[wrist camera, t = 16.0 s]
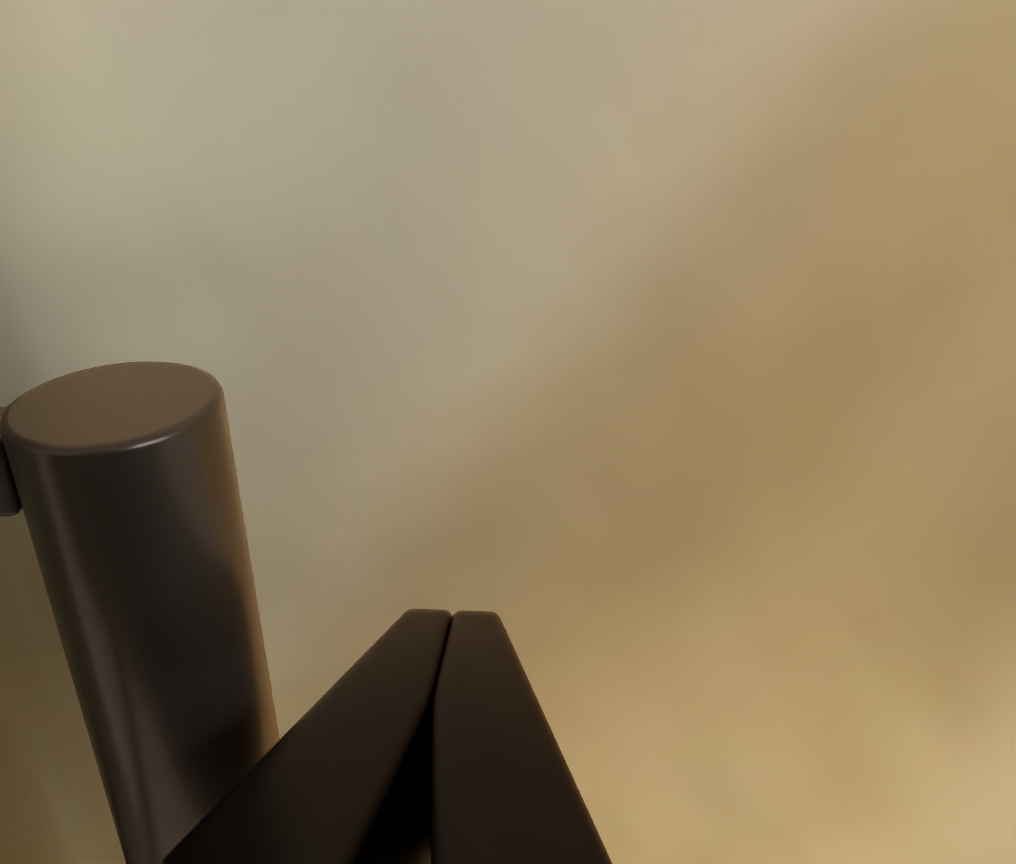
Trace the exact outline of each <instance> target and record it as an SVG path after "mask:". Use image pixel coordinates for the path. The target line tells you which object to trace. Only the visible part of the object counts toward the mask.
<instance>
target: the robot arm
mask: <svg viewBox="0 0 1016 864" xmlns="http://www.w3.org/2000/svg"><path fill="white" fill-rule="evenodd" d="M162 864H612V862H611V860H610V858H609V855H608V853H607V851H606V849H605V847H604V844H603V842H602V840H601V838H600V836H599V833H598V831H597V829H596V827H595V825H594V823H593V820H592V818H591V816H590V814H589V812H588V809H587V807H586V805H585V803H584V801H583V798H582V796H581V794H580V792H579V790H578V788H577V785H576V783H575V781H574V779H573V777H572V774H571V772H570V770H569V768H568V766H567V763H566V761H565V759H564V757H563V755H562V752H561V750H560V748H559V746H558V744H557V742H556V739H555V737H554V735H553V733H552V731H551V728H550V726H549V724H548V722H547V720H546V717H545V715H544V713H543V711H542V709H541V706H540V704H539V702H538V700H537V698H536V696H535V693H534V691H533V689H532V687H531V685H530V682H529V680H528V678H527V676H526V674H525V671H524V669H523V667H522V665H521V663H520V660H519V658H518V656H517V654H516V652H515V650H514V647H513V645H512V643H511V641H510V639H509V636H508V634H507V632H506V630H505V628H504V625H503V623H502V621H501V619H500V617H499V616H498V615H497V614H496V613H494V612H487V611H458V612H456V613H455V614H454V615H453V617H452V615H451V613H450V612H449V611H447V610H433V609H410V610H408V611H406V612H405V613H404V614H403V615H402V616H401V617H400V618H399V619H398V620H397V621H396V622H395V623H394V624H393V625H392V626H391V627H390V628H389V629H388V630H387V631H386V632H385V633H384V634H383V635H382V636H381V637H380V638H379V639H378V640H377V641H376V642H375V643H374V644H373V645H372V646H371V647H370V648H369V649H368V651H367V652H366V653H365V654H364V655H363V656H362V657H361V658H360V659H359V660H358V661H357V662H356V663H355V664H354V665H353V666H352V667H351V668H350V669H349V670H348V671H347V672H346V673H345V674H344V675H343V676H342V677H341V678H340V679H339V680H338V681H337V682H336V683H335V684H334V685H333V686H332V687H331V688H330V689H329V690H328V691H327V692H326V693H325V694H324V695H323V696H322V697H321V698H320V699H319V700H318V701H317V702H316V704H315V705H314V706H313V707H312V708H311V709H310V710H309V711H308V712H307V713H306V714H305V715H304V716H303V717H302V718H301V719H300V720H299V721H298V722H297V723H296V724H295V725H294V726H293V727H292V728H291V729H290V730H289V731H288V732H287V733H286V734H285V735H284V736H283V737H282V738H281V739H280V740H279V741H278V742H277V743H276V744H275V745H274V746H273V747H272V748H271V749H270V750H269V751H268V752H267V753H266V754H265V755H264V756H263V758H262V759H261V760H260V761H259V762H258V763H257V764H256V765H255V766H254V767H253V768H252V769H251V770H250V771H249V772H248V773H247V774H246V775H245V776H244V777H243V778H242V779H241V780H240V781H239V782H238V783H237V784H236V785H235V786H234V787H233V788H232V789H231V790H230V791H229V792H228V793H227V794H226V795H225V796H224V797H223V798H222V799H221V800H220V801H219V802H218V803H217V804H216V805H215V806H214V807H213V808H212V809H211V811H210V812H209V813H208V814H207V815H206V816H205V817H204V818H203V819H202V820H201V821H200V822H199V823H198V824H197V825H196V826H195V827H194V828H193V829H192V830H191V831H190V832H189V833H188V834H187V835H186V836H185V837H184V838H183V839H182V840H181V841H180V842H179V843H178V844H177V845H176V846H175V847H174V848H173V849H172V850H171V851H170V852H169V853H168V854H167V855H166V856H165V857H164V859H163V860H162Z"/></svg>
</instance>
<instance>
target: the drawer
mask: <svg viewBox="0 0 1016 864" xmlns="http://www.w3.org/2000/svg"><path fill="white" fill-rule="evenodd" d="M279 740H280V739H279V733H278V727H277V720H276V714H275V708H274V702H273V696H272V690H271V683H270V677H269V671H268V665H267V659H266V652H265V646H264V640H263V634H262V628H261V621H260V615H259V609H258V603H257V597H256V591H255V584H254V578H253V572H252V566H251V560H250V553H249V547H248V541H247V535H246V529H245V522H244V516H243V510H242V504H241V498H240V492H239V485H238V479H237V473H236V467H235V461H234V454H233V448H232V442H231V436H230V430H229V423H228V417H227V411H226V405H225V399H224V393H223V390H222V387H221V386H220V384H219V383H218V382H217V380H216V379H215V378H214V377H213V376H212V375H211V374H209V373H207V372H205V371H204V370H201V369H198V368H196V367H192V366H188V365H183V364H178V363H169V362H130V363H120V364H112V365H105V366H100V367H95V368H90V369H86V370H82V371H78V372H74V373H71V374H68V375H64V376H62V377H59V378H56V379H53V380H51V381H48V382H46V383H43V384H41V385H39V386H37V387H35V388H33V389H31V390H29V391H28V392H26V393H24V394H23V395H21V396H20V397H19V398H17V399H16V400H15V401H14V402H12V403H11V404H10V405H9V407H0V864H162V860H163V859H164V857H165V856H166V855H167V854H168V853H169V852H170V851H171V850H172V849H173V848H174V847H175V846H176V845H177V844H178V843H179V842H180V841H181V840H182V839H183V838H184V837H185V836H186V835H187V834H188V833H189V832H190V831H191V830H192V829H193V828H194V827H195V826H196V825H197V824H198V823H199V822H200V821H201V820H202V819H203V818H204V817H205V816H206V815H207V814H208V813H209V812H210V811H211V809H212V808H213V807H214V806H215V805H216V804H217V803H218V802H219V801H220V800H221V799H222V798H223V797H224V796H225V795H226V794H227V793H228V792H229V791H230V790H231V789H232V788H233V787H234V786H235V785H236V784H237V783H238V782H239V781H240V780H241V779H242V778H243V777H244V776H245V775H246V774H247V773H248V772H249V771H250V770H251V769H252V768H253V767H254V766H255V765H256V764H257V763H258V762H259V761H260V760H261V759H262V758H263V756H264V755H265V754H266V753H267V752H268V751H269V750H270V749H271V748H272V747H273V746H274V745H275V744H276V743H277V742H278V741H279Z"/></svg>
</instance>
